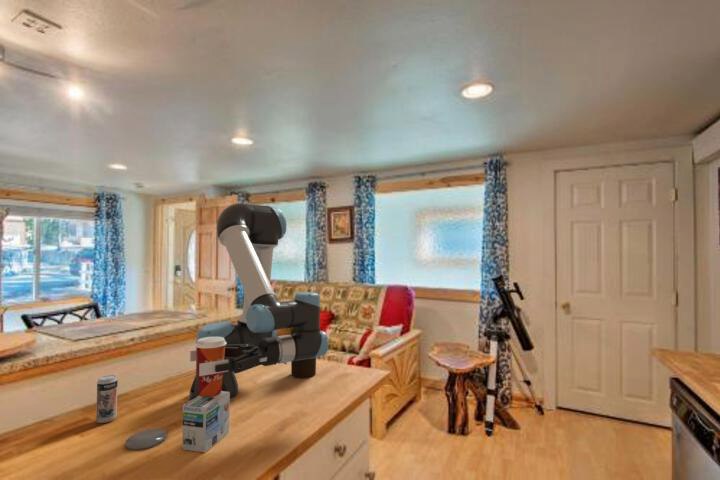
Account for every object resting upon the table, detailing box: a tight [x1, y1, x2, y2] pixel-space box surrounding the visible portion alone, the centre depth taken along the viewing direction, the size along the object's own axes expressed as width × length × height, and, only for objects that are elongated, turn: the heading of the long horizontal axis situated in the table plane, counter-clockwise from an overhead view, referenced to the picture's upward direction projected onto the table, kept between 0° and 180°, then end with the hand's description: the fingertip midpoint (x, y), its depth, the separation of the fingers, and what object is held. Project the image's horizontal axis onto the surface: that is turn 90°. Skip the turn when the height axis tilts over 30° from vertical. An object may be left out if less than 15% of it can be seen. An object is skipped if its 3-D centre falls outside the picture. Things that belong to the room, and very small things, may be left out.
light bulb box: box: [181, 391, 231, 453], centre depth 92 cm, size 11×7×11 cm, turn 168°
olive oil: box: [289, 327, 317, 379], centre depth 143 cm, size 11×11×25 cm
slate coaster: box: [125, 428, 168, 451], centre depth 92 cm, size 9×9×1 cm
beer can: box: [95, 374, 119, 424], centre depth 103 cm, size 5×5×12 cm
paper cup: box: [194, 337, 227, 397], centre depth 96 cm, size 8×8×14 cm
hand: (194, 362), depth 91 cm, fingers open, 13 cm apart
